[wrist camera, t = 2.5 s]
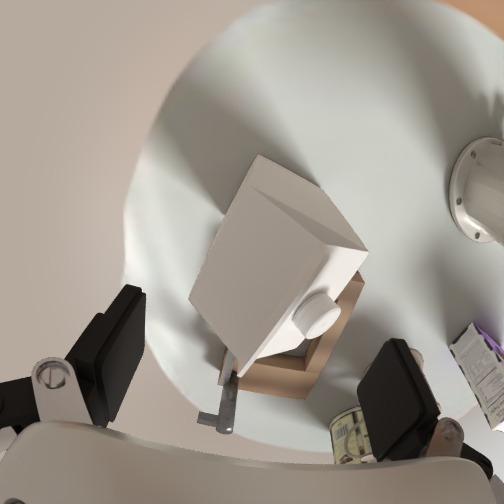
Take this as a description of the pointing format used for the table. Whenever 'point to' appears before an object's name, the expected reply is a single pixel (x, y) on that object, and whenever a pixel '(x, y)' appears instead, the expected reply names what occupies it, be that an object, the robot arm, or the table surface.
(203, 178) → the table surface
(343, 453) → the coffee can
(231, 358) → the rail
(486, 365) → the candy box
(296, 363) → the wooden frame
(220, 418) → the hook post
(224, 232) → the milk carton
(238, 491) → the robot arm
